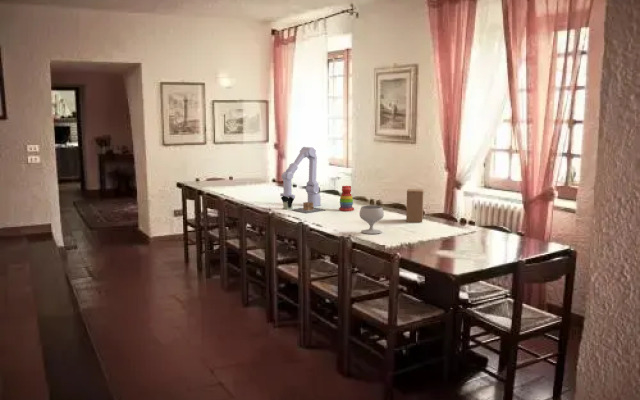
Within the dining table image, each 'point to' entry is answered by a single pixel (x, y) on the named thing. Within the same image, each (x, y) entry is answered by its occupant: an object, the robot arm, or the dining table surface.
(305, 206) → the walnut block
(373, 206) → the chalice
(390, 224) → the dining table surface
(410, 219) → the wooden block
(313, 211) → the blueprint board
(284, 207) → the sage block
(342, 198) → the stacking bear
